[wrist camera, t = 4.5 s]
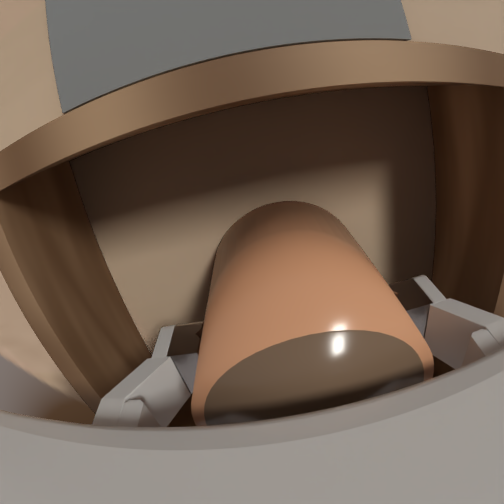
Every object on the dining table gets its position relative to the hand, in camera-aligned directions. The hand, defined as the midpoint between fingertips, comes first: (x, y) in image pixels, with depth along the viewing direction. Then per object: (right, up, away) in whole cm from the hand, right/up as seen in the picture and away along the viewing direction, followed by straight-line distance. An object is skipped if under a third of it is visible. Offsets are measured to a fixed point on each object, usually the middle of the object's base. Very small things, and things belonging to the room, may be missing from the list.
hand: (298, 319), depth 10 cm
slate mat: (-3, +15, -3) cm, 15 cm away
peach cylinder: (0, +1, +3) cm, 3 cm away
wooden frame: (0, +1, +3) cm, 4 cm away
